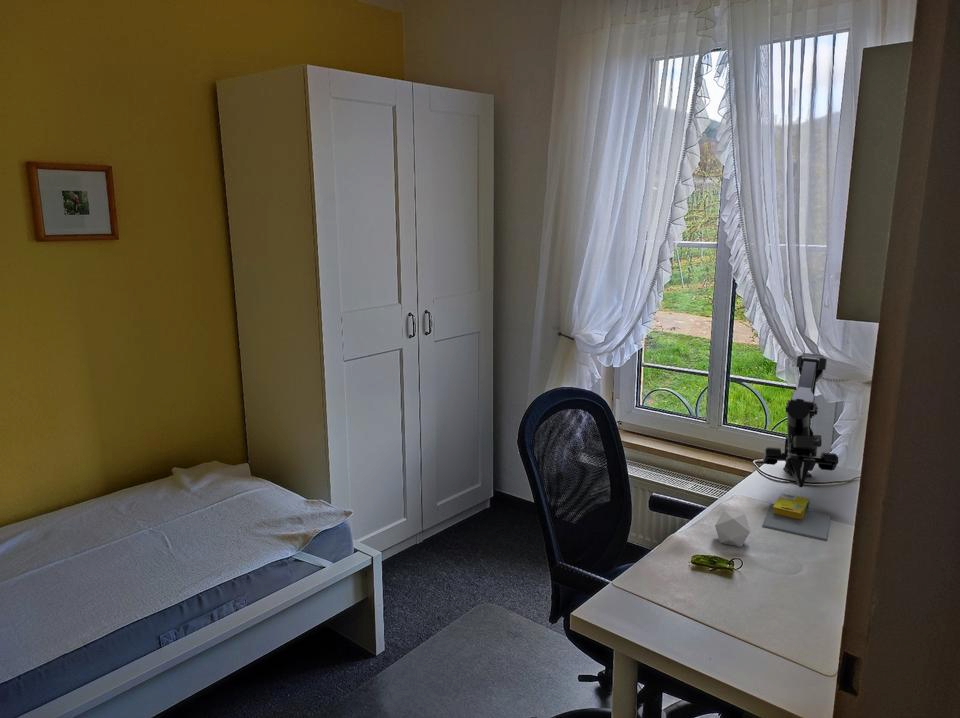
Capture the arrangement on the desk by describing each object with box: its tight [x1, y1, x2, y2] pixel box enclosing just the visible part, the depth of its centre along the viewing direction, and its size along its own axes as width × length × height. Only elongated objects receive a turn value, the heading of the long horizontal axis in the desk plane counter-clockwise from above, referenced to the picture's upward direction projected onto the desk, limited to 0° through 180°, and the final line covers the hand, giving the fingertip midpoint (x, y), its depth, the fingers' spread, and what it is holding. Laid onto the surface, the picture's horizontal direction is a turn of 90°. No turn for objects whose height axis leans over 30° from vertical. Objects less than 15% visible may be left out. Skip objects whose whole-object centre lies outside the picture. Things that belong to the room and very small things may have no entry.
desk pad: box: [761, 503, 832, 542], centre depth 185 cm, size 16×15×1 cm
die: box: [714, 509, 751, 548], centre depth 172 cm, size 8×9×10 cm
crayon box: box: [773, 492, 810, 520], centre depth 190 cm, size 7×3×12 cm
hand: (801, 486), depth 190 cm, fingers closed
